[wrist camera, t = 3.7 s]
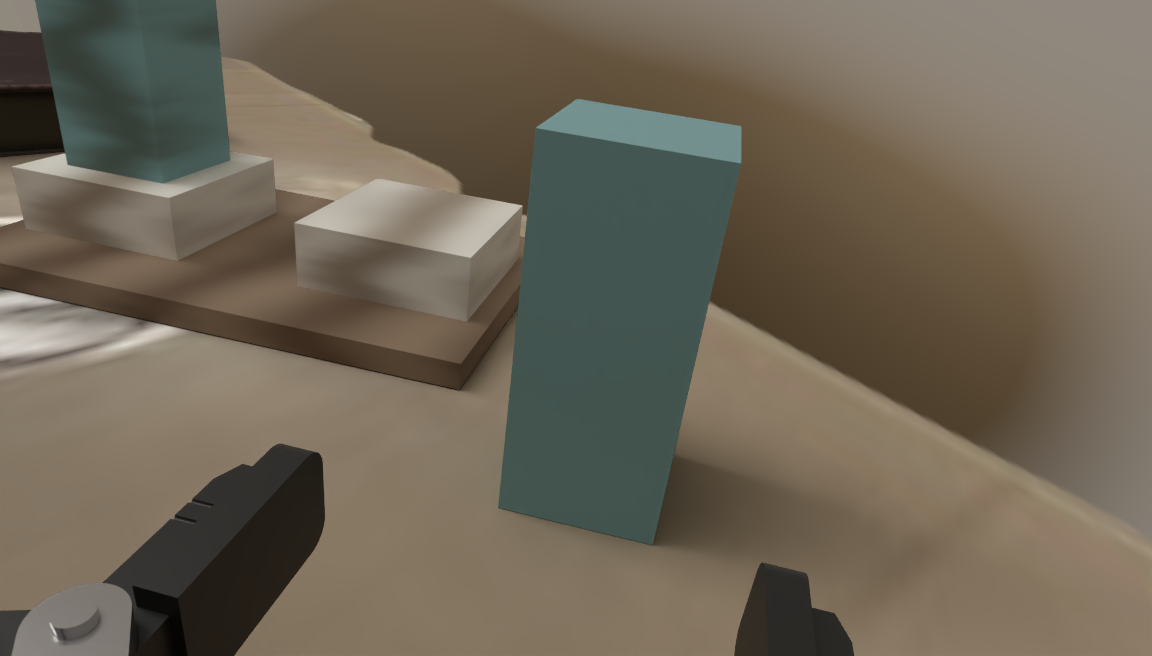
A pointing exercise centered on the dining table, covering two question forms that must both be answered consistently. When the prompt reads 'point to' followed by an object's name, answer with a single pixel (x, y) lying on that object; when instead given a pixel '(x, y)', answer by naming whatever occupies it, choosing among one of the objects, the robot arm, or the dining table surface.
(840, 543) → the dining table surface
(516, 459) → the teal pillar
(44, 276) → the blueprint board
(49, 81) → the diary
